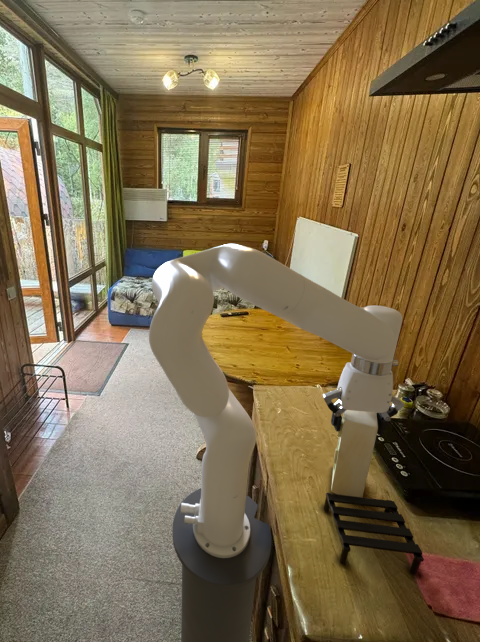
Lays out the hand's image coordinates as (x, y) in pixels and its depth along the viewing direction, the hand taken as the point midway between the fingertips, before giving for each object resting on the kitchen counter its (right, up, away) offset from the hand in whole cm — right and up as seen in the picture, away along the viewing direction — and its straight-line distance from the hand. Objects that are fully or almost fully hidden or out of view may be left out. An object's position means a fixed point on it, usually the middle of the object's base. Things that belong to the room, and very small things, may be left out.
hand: (356, 429), depth 71 cm
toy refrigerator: (0, -16, +5) cm, 17 cm away
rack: (-2, -20, -7) cm, 21 cm away
